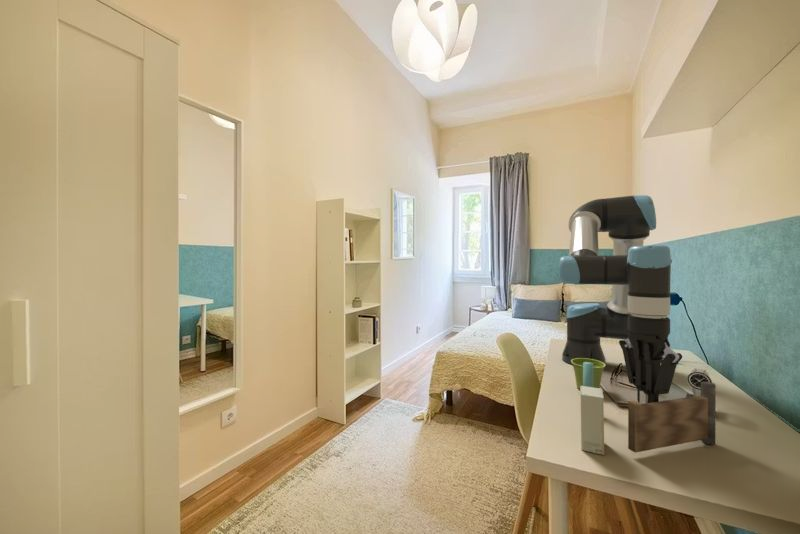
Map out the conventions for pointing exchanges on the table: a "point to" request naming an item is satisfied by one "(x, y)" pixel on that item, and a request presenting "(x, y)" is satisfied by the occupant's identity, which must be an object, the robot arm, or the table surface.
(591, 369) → the post
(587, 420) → the skincare box
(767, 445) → the table surface
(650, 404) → the gate
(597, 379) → the plant pot
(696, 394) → the watch
